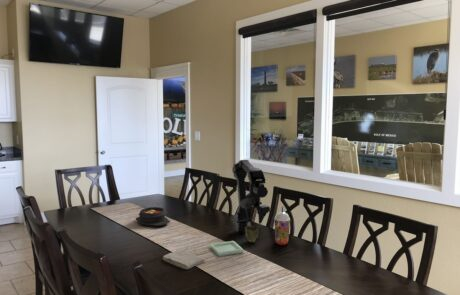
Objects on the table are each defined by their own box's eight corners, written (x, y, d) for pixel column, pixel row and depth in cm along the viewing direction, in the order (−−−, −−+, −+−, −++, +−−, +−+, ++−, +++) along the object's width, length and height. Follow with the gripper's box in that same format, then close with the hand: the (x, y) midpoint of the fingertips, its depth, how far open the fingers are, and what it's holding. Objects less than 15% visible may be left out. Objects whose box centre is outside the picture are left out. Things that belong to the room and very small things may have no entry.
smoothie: (277, 246, 192) (278, 209, 190) (271, 241, 200) (272, 205, 198) (292, 245, 194) (293, 208, 192) (285, 240, 202) (286, 204, 200)
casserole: (177, 223, 231) (176, 210, 230) (153, 231, 217) (152, 217, 216) (152, 216, 247) (152, 203, 246) (128, 222, 233) (128, 209, 232)
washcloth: (179, 253, 184) (179, 247, 184) (205, 262, 173) (205, 256, 173) (160, 260, 175) (160, 254, 175) (187, 271, 164) (187, 264, 163)
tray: (210, 247, 191) (210, 243, 191) (233, 244, 196) (233, 240, 196) (218, 256, 179) (218, 253, 179) (243, 252, 184) (243, 249, 184)
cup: (257, 239, 203) (258, 225, 202) (259, 244, 196) (259, 229, 195) (244, 239, 203) (244, 225, 202) (245, 244, 195) (245, 229, 195)
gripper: (232, 191, 197) (232, 219, 199) (254, 199, 182) (253, 229, 184) (248, 188, 204) (248, 215, 206) (271, 195, 188) (270, 225, 190)
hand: (254, 221), depth 196 cm, fingers open, 9 cm apart
